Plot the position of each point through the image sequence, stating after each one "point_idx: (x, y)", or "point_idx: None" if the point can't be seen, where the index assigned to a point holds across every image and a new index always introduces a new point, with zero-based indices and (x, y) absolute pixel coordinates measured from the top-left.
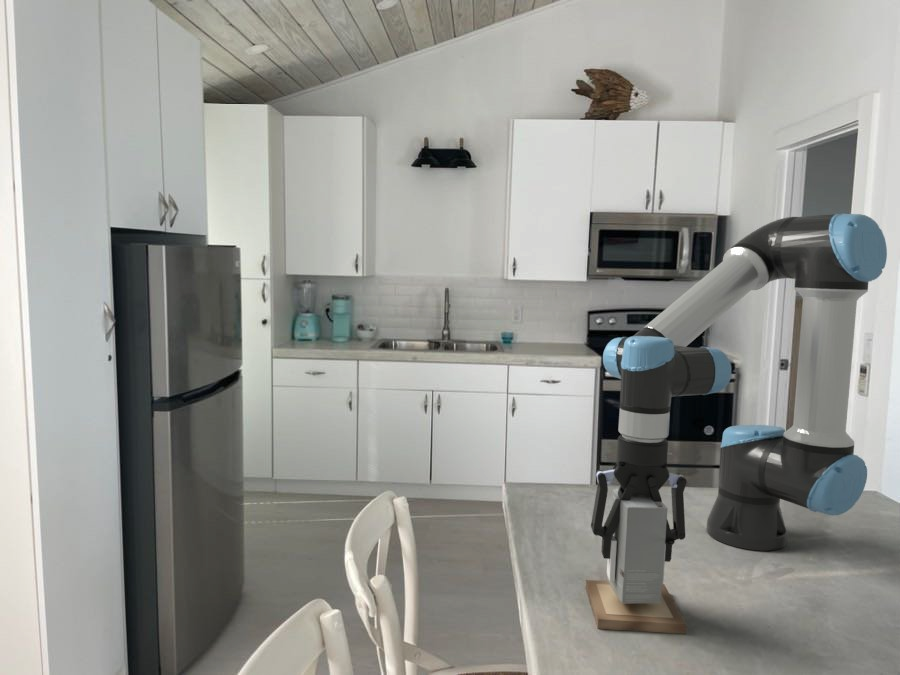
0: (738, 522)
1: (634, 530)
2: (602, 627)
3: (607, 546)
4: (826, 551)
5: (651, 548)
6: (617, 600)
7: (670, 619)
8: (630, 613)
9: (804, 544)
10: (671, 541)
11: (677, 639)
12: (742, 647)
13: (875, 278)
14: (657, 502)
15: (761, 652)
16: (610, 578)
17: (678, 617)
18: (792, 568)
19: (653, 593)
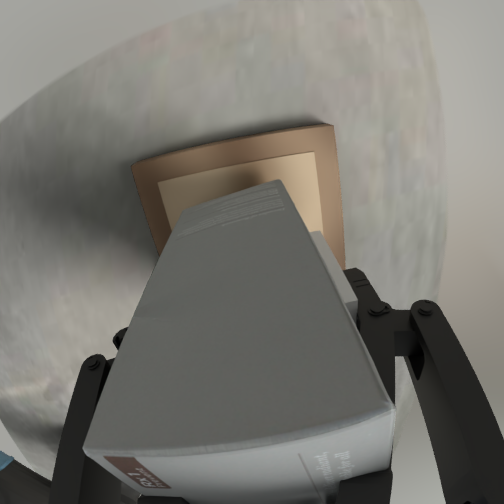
0: None
1: (291, 300)
2: (317, 125)
3: (360, 292)
4: (36, 426)
5: (196, 272)
6: None
7: (164, 174)
8: (256, 171)
9: (56, 437)
10: (123, 336)
11: (154, 131)
12: (46, 154)
13: None
14: (158, 491)
15: (23, 151)
16: (319, 234)
17: (147, 191)
18: (46, 399)
19: (199, 210)
